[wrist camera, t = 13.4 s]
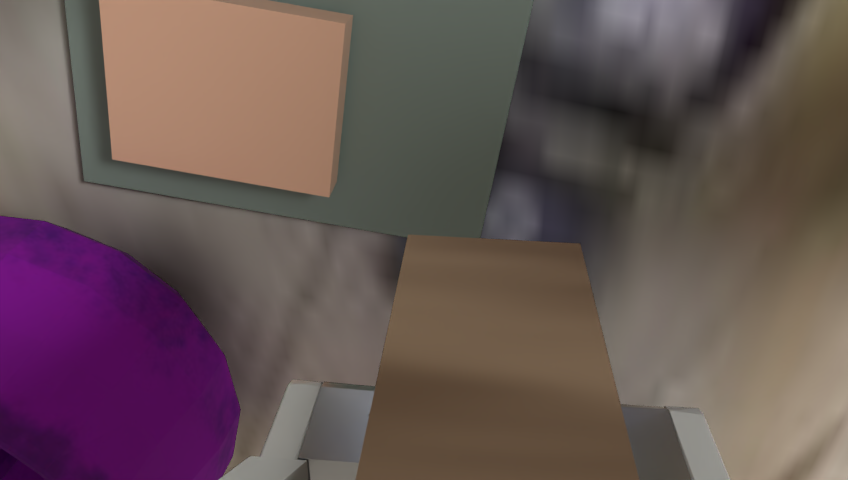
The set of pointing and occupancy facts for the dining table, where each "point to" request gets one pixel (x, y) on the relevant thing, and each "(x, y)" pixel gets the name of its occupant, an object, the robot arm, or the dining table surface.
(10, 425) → the decorative plant
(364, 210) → the mat
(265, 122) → the tile
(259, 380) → the dining table surface
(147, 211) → the dining table surface
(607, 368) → the walnut block
